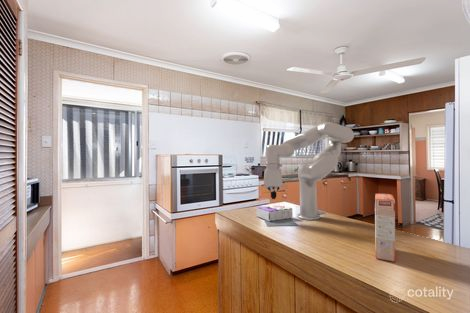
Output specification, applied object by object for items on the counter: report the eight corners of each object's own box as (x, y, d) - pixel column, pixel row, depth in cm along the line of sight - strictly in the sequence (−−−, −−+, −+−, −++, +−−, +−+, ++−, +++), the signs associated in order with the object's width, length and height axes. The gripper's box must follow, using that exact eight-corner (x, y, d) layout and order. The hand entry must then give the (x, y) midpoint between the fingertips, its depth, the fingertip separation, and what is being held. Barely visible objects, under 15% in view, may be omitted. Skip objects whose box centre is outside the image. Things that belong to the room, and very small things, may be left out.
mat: (287, 214, 144) (287, 214, 144) (298, 225, 120) (298, 225, 120) (261, 214, 143) (261, 214, 143) (267, 226, 119) (267, 225, 119)
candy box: (256, 206, 139) (278, 204, 146) (256, 216, 139) (278, 213, 146) (268, 211, 126) (292, 207, 133) (269, 221, 126) (293, 218, 133)
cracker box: (396, 263, 76) (395, 199, 76) (375, 259, 79) (374, 198, 79) (394, 248, 88) (393, 193, 88) (375, 245, 91) (374, 192, 91)
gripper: (284, 166, 135) (285, 197, 135) (259, 166, 135) (259, 197, 135) (287, 166, 128) (288, 199, 128) (260, 167, 128) (261, 200, 128)
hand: (273, 198), depth 132 cm, fingers closed
